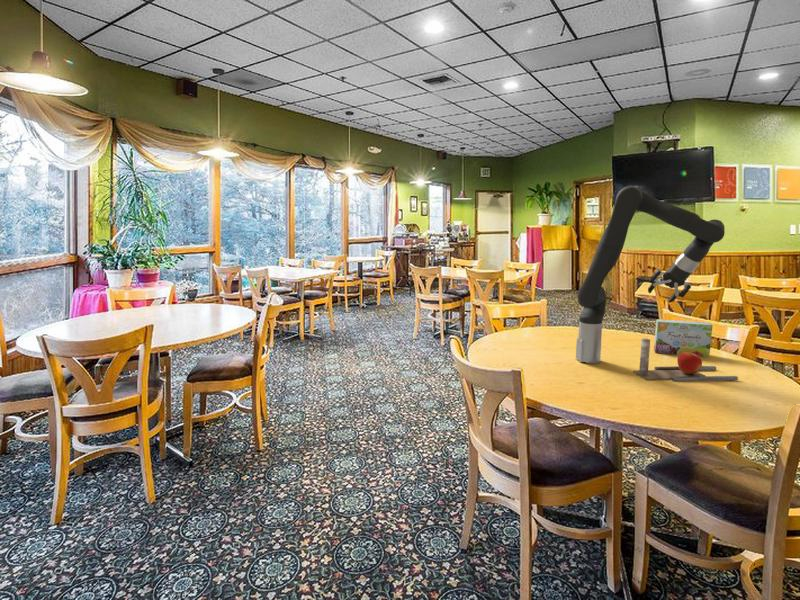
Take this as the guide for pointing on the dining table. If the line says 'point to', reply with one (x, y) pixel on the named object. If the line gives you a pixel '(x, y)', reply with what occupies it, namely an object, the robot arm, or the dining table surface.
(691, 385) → the dining table surface
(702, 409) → the dining table surface
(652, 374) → the board with upright post
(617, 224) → the robot arm
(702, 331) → the snack box
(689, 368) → the apple
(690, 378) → the lane rails
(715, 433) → the dining table surface
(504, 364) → the dining table surface
